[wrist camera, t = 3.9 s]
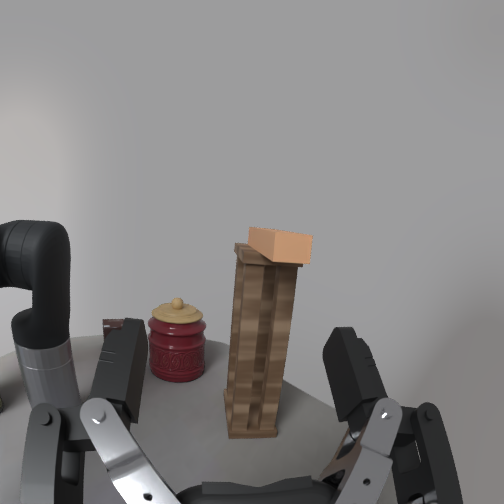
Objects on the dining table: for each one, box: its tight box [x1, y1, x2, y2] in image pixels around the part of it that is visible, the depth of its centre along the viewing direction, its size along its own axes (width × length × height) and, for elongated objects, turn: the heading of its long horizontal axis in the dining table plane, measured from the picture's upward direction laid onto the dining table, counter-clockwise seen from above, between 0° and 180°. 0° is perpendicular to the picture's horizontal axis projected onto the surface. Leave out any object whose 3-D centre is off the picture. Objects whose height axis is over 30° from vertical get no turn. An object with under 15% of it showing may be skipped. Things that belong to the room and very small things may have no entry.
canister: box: [148, 298, 206, 382], centre depth 61 cm, size 13×13×18 cm
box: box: [103, 319, 124, 340], centre depth 66 cm, size 6×6×7 cm
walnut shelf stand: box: [224, 243, 303, 439], centre depth 46 cm, size 14×8×31 cm, turn 8°
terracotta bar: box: [248, 227, 313, 264], centre depth 39 cm, size 20×4×3 cm, turn 8°
